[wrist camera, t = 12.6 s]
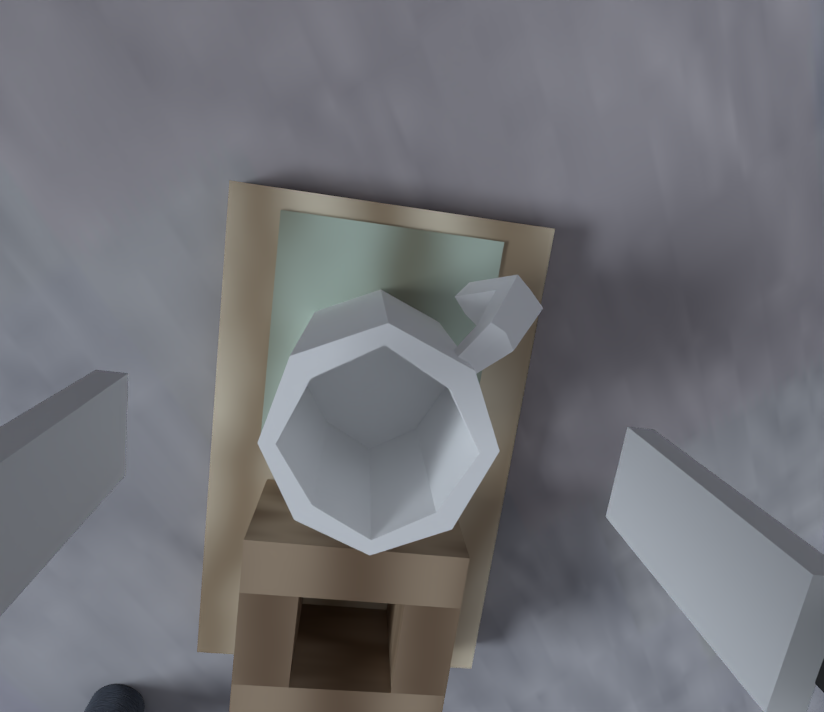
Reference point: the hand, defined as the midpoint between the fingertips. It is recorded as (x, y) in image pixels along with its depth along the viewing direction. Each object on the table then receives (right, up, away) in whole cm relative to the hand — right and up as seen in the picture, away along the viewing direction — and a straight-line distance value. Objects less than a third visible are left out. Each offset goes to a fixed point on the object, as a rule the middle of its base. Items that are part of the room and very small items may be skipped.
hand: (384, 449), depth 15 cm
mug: (0, +3, +14) cm, 15 cm away
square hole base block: (-2, -2, +18) cm, 18 cm away
